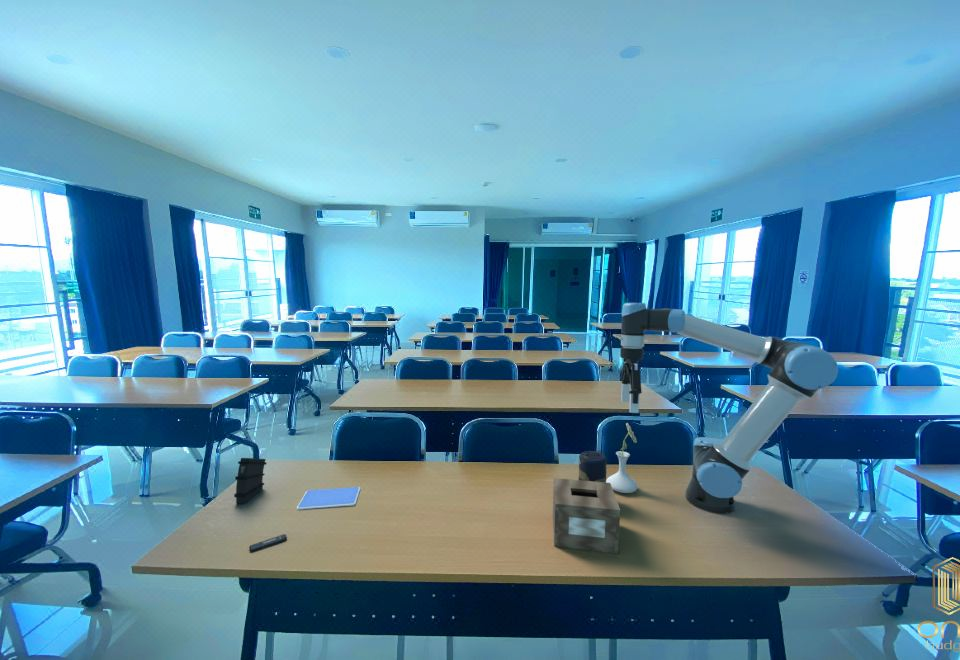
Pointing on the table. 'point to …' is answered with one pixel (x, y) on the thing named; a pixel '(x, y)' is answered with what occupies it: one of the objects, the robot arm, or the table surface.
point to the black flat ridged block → (249, 479)
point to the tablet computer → (329, 498)
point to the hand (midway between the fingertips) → (629, 406)
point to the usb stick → (267, 543)
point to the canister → (592, 466)
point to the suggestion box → (585, 515)
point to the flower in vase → (623, 470)
